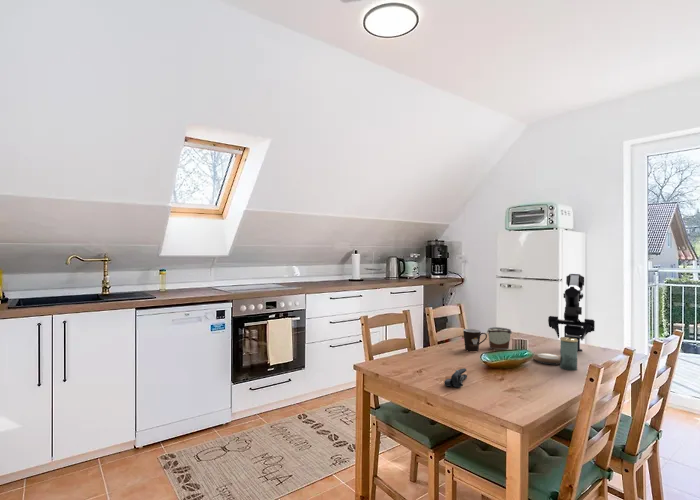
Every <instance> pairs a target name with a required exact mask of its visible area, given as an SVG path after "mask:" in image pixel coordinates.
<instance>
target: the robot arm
mask: <svg viewBox="0 0 700 500" xmlns="http://www.w3.org/2000/svg"><path fill="white" fill-rule="evenodd" d="M565 284H566V285H567V286H566V287H565V290H564V291H563V299H564V302H565V307H564V313H563V319H559V316H556V315H549V316H547V317H548V319H547V323H548V327H549V328H551V329H553V330H554V331H555V333H556V335H557V338H558V339H560V328H559V325H564V328H563V330H564V331H563V332H564V336H563V337H571V338H576V339H578V347H577V352H583V349H582V348H581V341H583V340H584V339H585V337H586V336H587V334H589V333H592V332H595V326H596V325H595V320H594V319H592V318H591V319H590V318H584V321H581V320H580V318H579V315H580V316H581V315H582V313H583V310H582V309H583V308H582V307H581V306H580V302H581V300H582V299H583V298H584V294H583V292H582V291H583V288H584V286H585V277H584V276H583V275H581V274H580V273H576V272H575V273H573V272H572V273H571V272H570V273H569V274H568V275H566V282H565Z"/></svg>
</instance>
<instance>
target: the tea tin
mask: <svg viewBox="0 0 700 500" xmlns="http://www.w3.org/2000/svg"><path fill="white" fill-rule="evenodd" d="M559 339H560V345H559V346H560V347H559V348H560V354H559V356H560V364H559V368H560V369H561V370H564V371H571V372H572V371H573V372H574V371H577V370H578V351H577V347H578V339H576V338H571V337H564V336H561V337H559Z"/></svg>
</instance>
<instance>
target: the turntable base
mask: <svg viewBox="0 0 700 500" xmlns="http://www.w3.org/2000/svg"><path fill="white" fill-rule="evenodd" d="M535 361H536V362H538V363H540V364H545V365H560V363H547V362H541V361H538V360H535Z"/></svg>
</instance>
